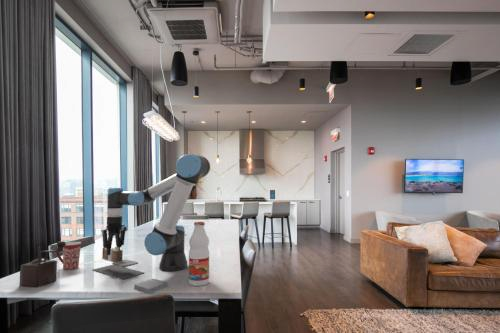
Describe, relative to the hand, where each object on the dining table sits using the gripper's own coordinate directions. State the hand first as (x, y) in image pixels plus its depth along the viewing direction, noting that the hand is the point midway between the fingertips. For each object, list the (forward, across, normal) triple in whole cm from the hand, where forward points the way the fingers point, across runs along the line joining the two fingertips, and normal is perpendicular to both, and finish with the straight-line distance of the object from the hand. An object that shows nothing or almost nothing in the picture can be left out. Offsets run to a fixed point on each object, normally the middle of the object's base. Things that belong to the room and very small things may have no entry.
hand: (113, 260), depth 156 cm
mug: (+6, +11, -26) cm, 29 cm away
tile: (+4, +5, +33) cm, 34 cm away
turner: (0, 0, +4) cm, 4 cm away
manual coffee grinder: (+6, +28, -12) cm, 31 cm away
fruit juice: (+5, -11, +52) cm, 54 cm away
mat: (+6, 0, +4) cm, 7 cm away
